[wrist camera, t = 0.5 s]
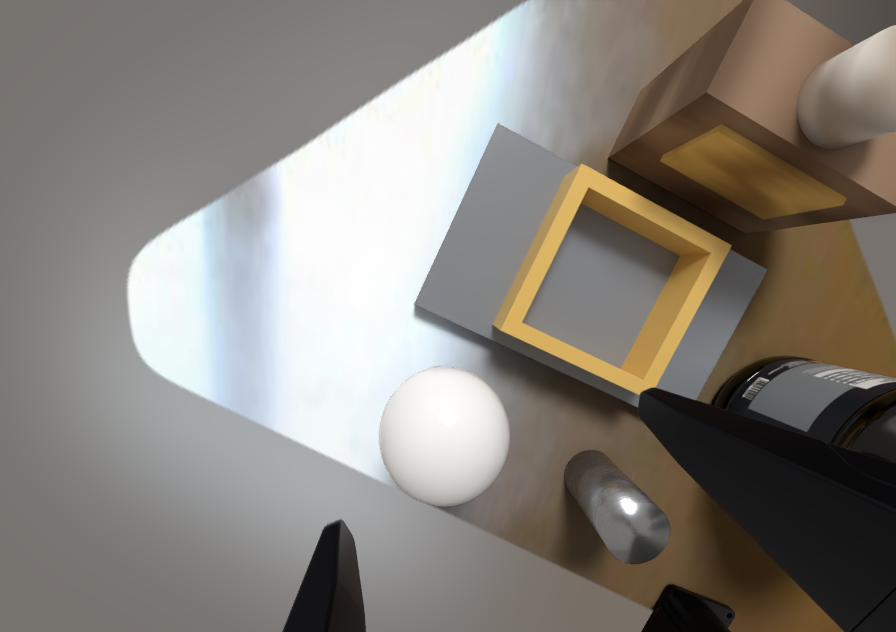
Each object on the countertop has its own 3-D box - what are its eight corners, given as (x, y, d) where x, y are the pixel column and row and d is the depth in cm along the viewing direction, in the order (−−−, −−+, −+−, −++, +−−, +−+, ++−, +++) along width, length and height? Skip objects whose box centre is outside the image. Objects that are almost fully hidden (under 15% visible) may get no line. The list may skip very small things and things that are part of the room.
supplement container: (752, 502, 27) (1014, 683, 15) (675, 416, 25) (896, 540, 13) (849, 415, 26) (1198, 528, 14) (776, 324, 25) (1096, 365, 13)
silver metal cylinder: (622, 461, 25) (682, 517, 19) (598, 504, 26) (650, 572, 20) (578, 442, 25) (626, 493, 19) (555, 486, 25) (594, 550, 19)
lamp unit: (779, 170, 23) (1037, 91, 14) (743, 238, 24) (967, 210, 14) (641, 89, 22) (815, -64, 12) (605, 163, 23) (745, 72, 13)
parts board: (753, 270, 24) (808, 268, 21) (671, 421, 25) (709, 444, 22) (494, 130, 22) (507, 102, 18) (414, 303, 23) (412, 307, 19)
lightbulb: (441, 439, 24) (453, 571, 13) (377, 385, 23) (333, 478, 12) (499, 377, 24) (559, 460, 13) (436, 321, 23) (444, 358, 12)
